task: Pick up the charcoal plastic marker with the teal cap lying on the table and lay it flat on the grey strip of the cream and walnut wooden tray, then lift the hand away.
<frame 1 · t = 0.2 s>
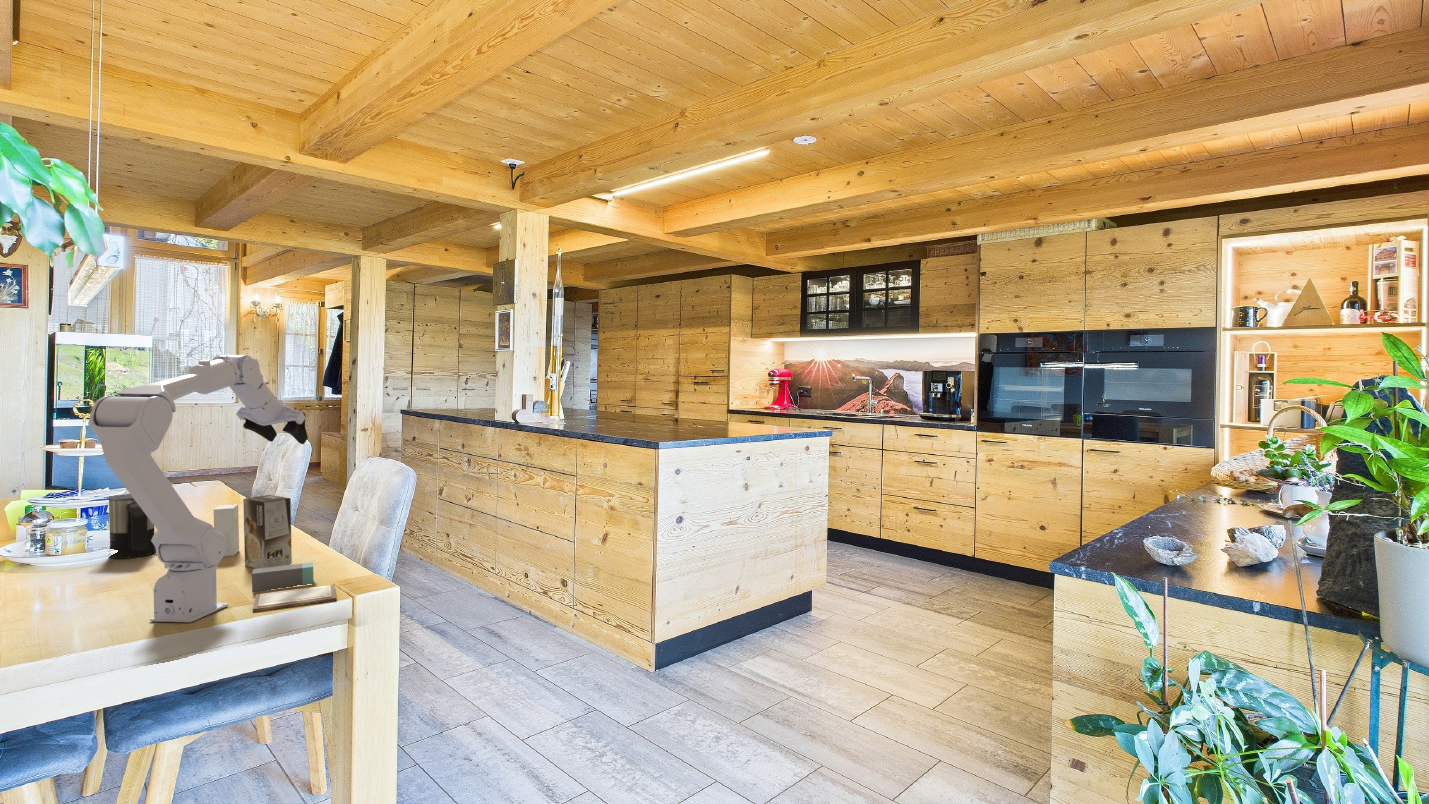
hand: (289, 439, 158), 30 cm above the table, tool tilted 45°, fingers open, 7 cm apart
coffee box: (268, 566, 164), on the table
skincare box: (226, 554, 174), on the table
wooden tray: (295, 599, 140), on the table
marker: (283, 586, 148), on the table
milk frother: (153, 553, 174), on the table
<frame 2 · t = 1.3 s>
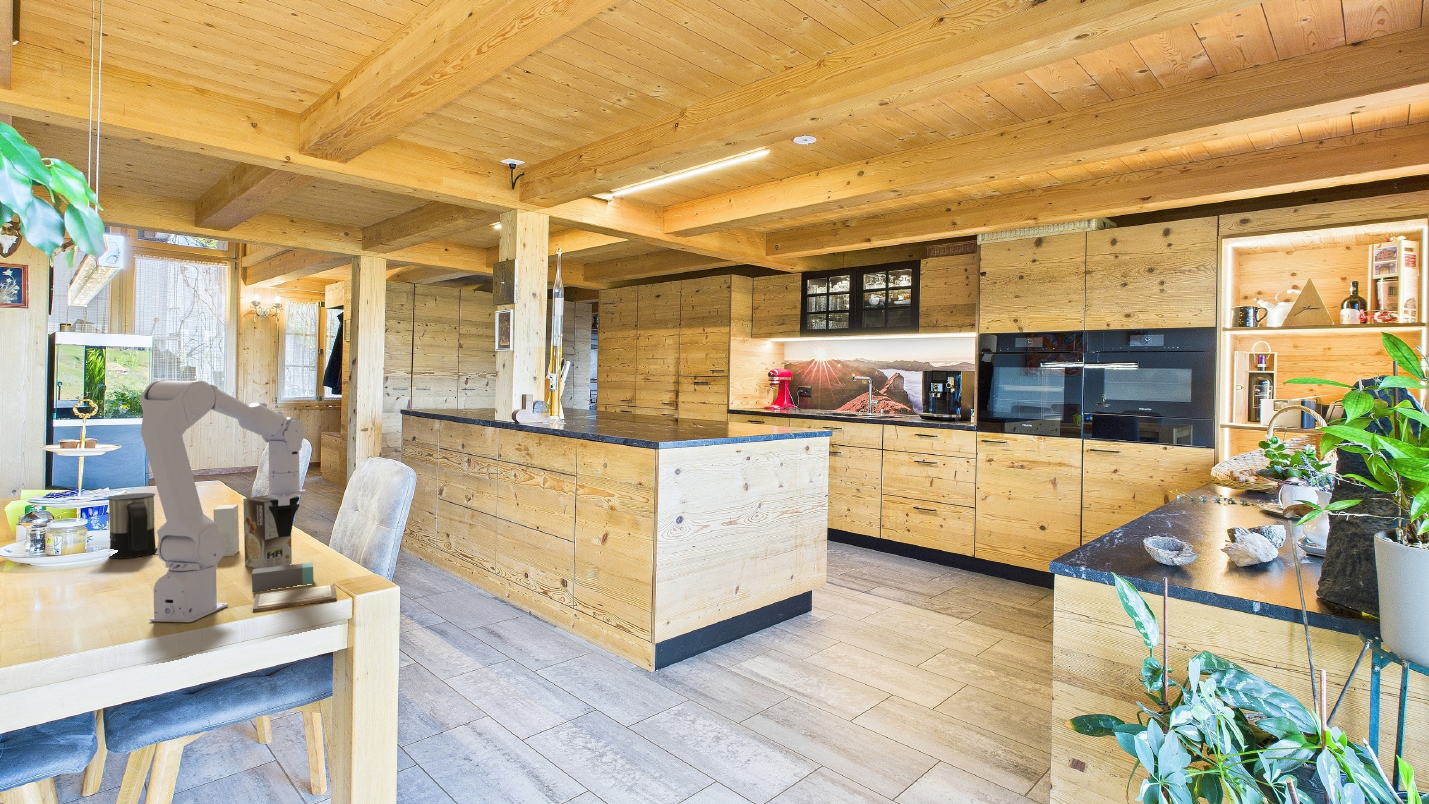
hand: (284, 533, 153), 10 cm above the table, tool pointing down, fingers open, 7 cm apart
nothing on the table moved.
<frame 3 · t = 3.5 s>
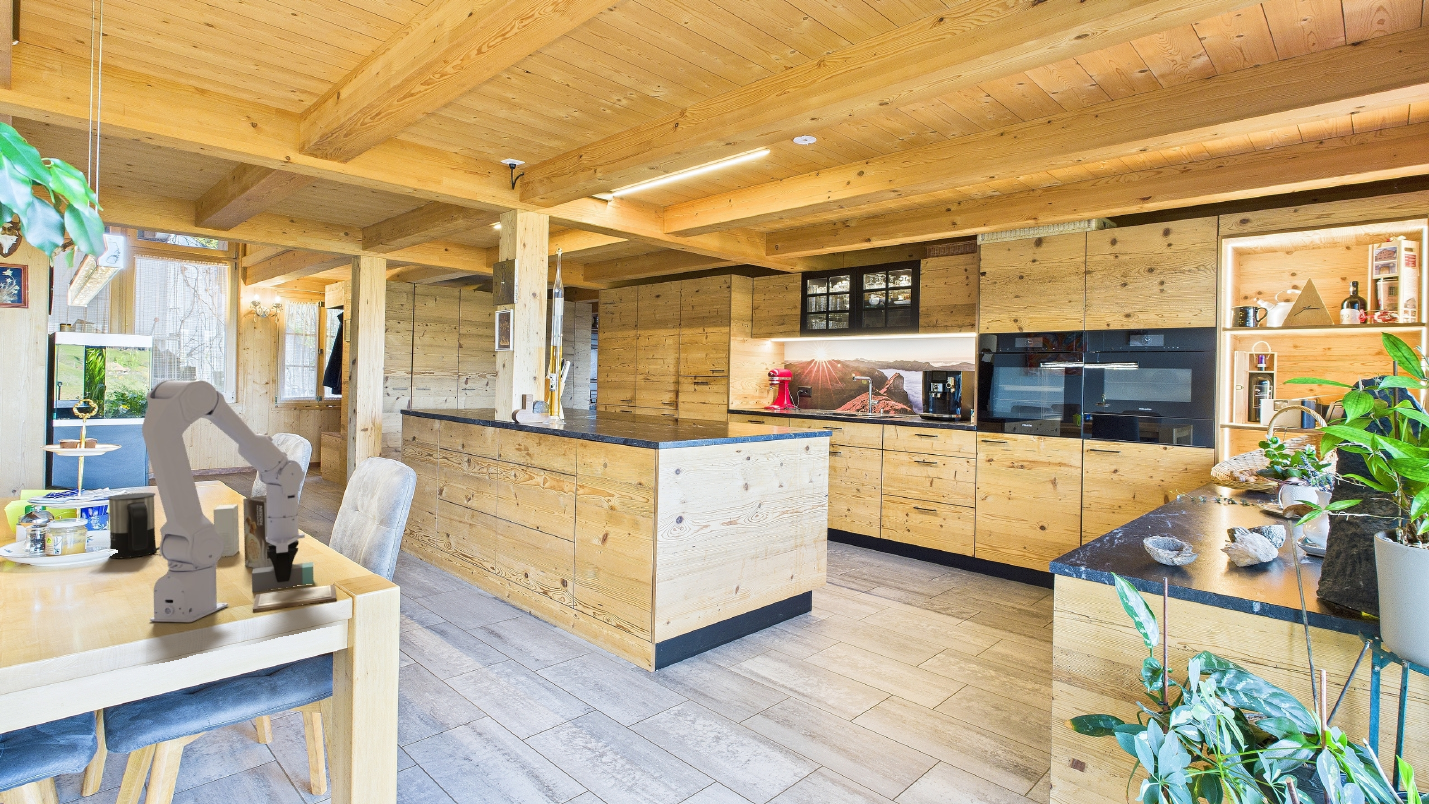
hand: (283, 578, 148), 2 cm above the table, tool pointing down, fingers closed on marker, 4 cm apart
marker: (283, 586, 148), on the table, touching gripper
everything else where it was.
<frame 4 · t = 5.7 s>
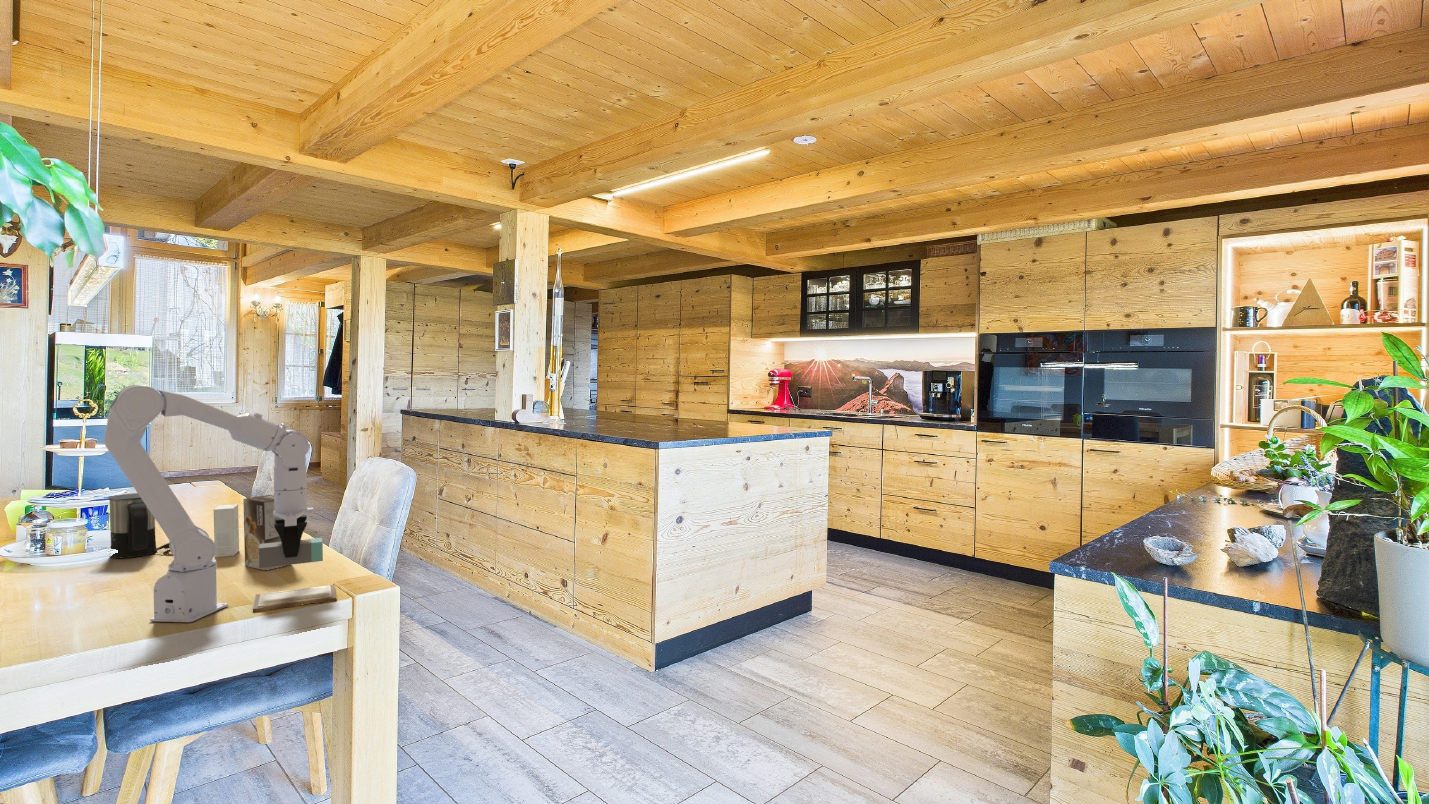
hand: (291, 554, 142), 8 cm above the table, tool pointing down, fingers closed on marker, 4 cm apart
marker: (291, 562, 142), point 7 cm above the table, touching gripper
everything else where it was.
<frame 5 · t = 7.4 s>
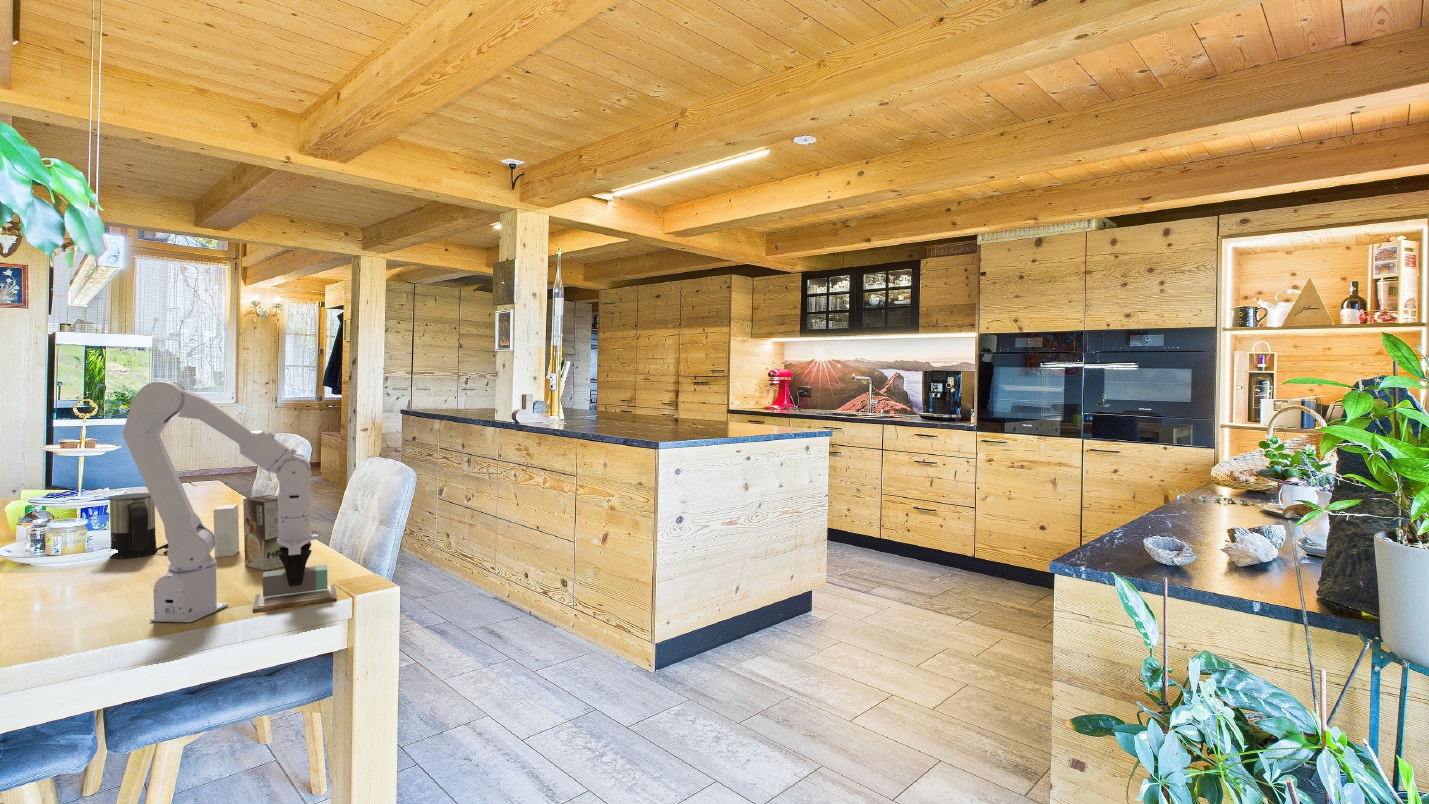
hand: (295, 582, 140), 3 cm above the table, tool pointing down, fingers closed on marker, 4 cm apart
marker: (296, 590, 140), point 2 cm above the table, touching gripper
everything else where it was.
when the fingers open (3 cm above the table, at t = 8.4 s): marker stays where it is, resting on wooden tray.
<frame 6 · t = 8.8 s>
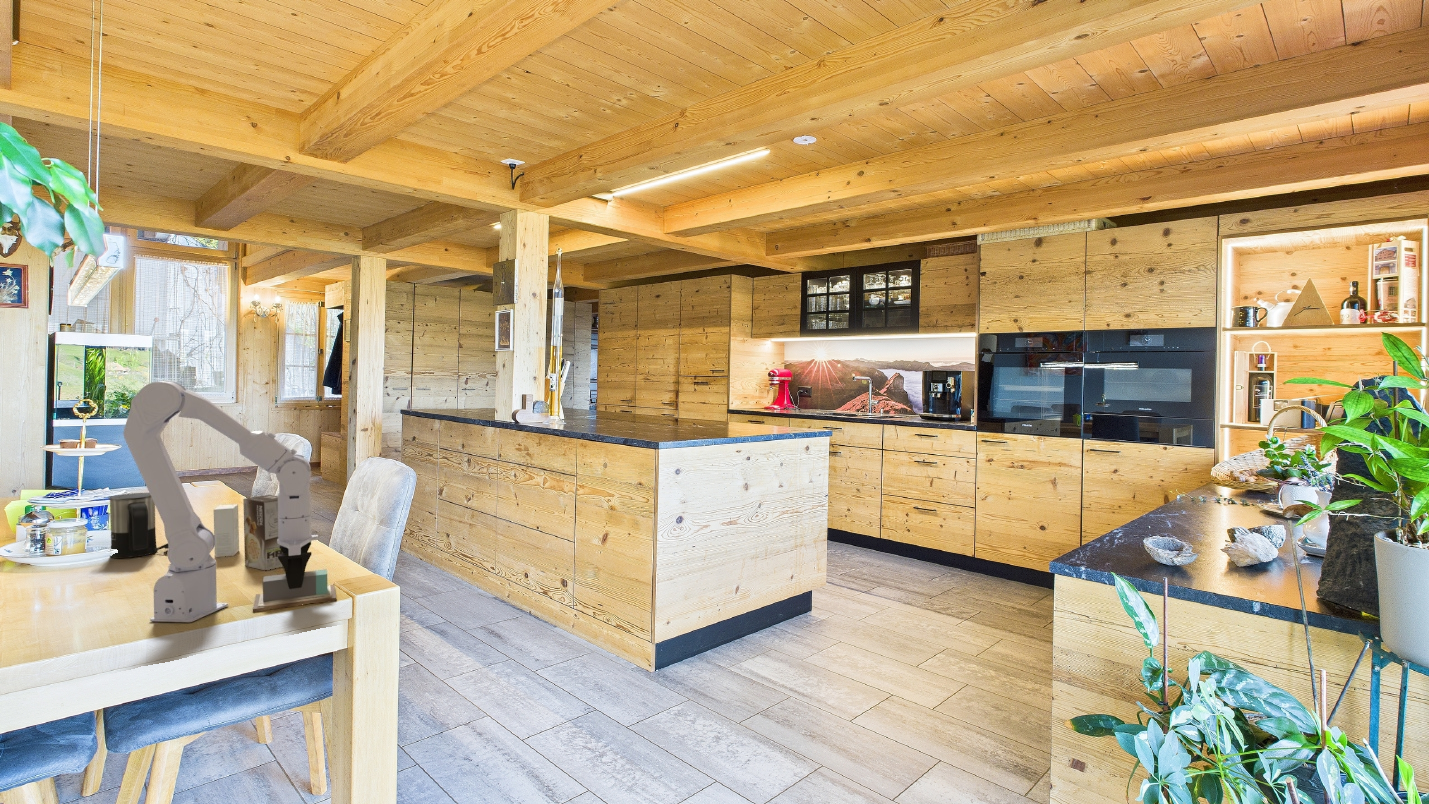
hand: (295, 582, 140), 3 cm above the table, tool pointing down, fingers open, 7 cm apart
marker: (296, 594, 140), point 1 cm above the table, touching wooden tray
everything else where it was.
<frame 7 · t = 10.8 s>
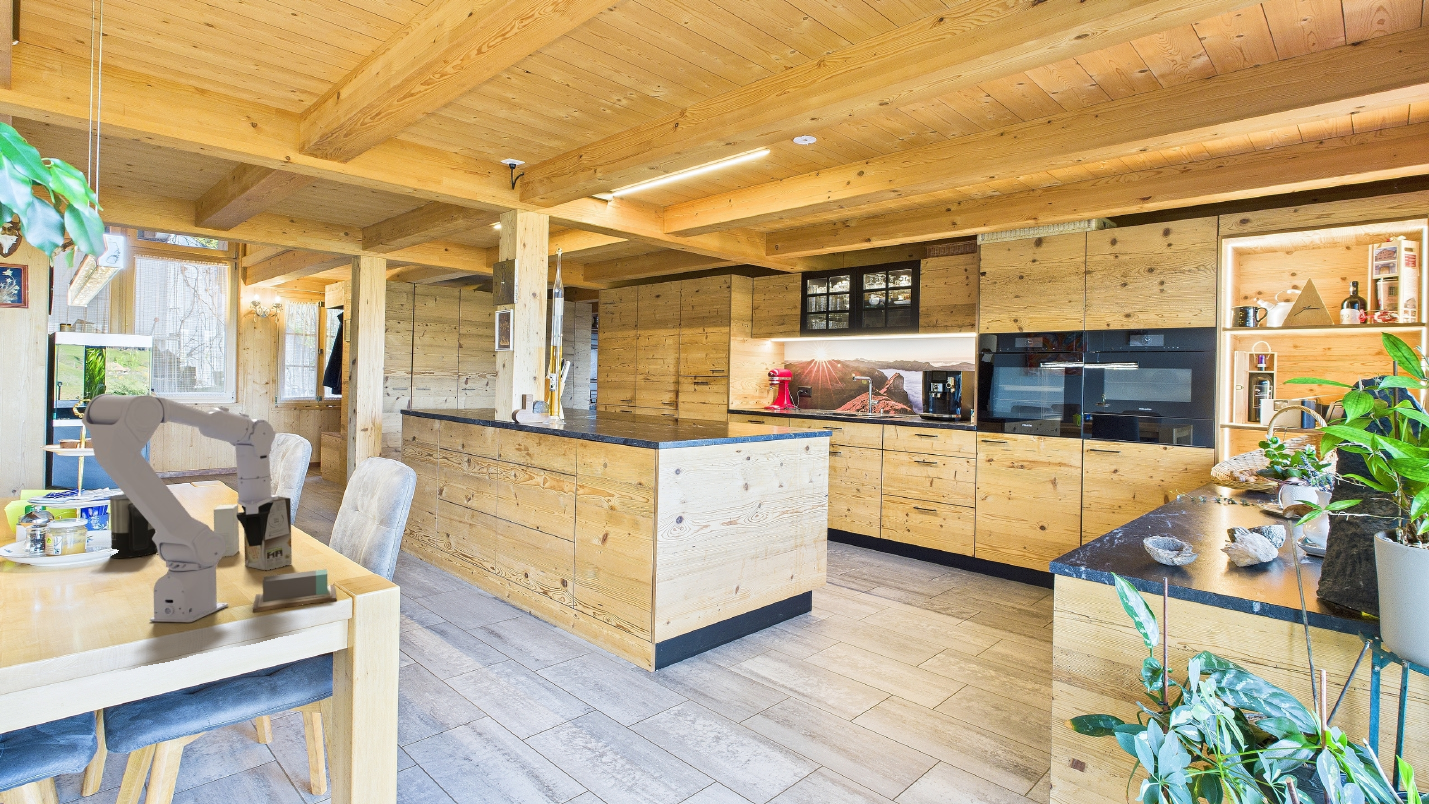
hand: (257, 540, 145), 10 cm above the table, tool pointing down, fingers open, 7 cm apart
nothing on the table moved.
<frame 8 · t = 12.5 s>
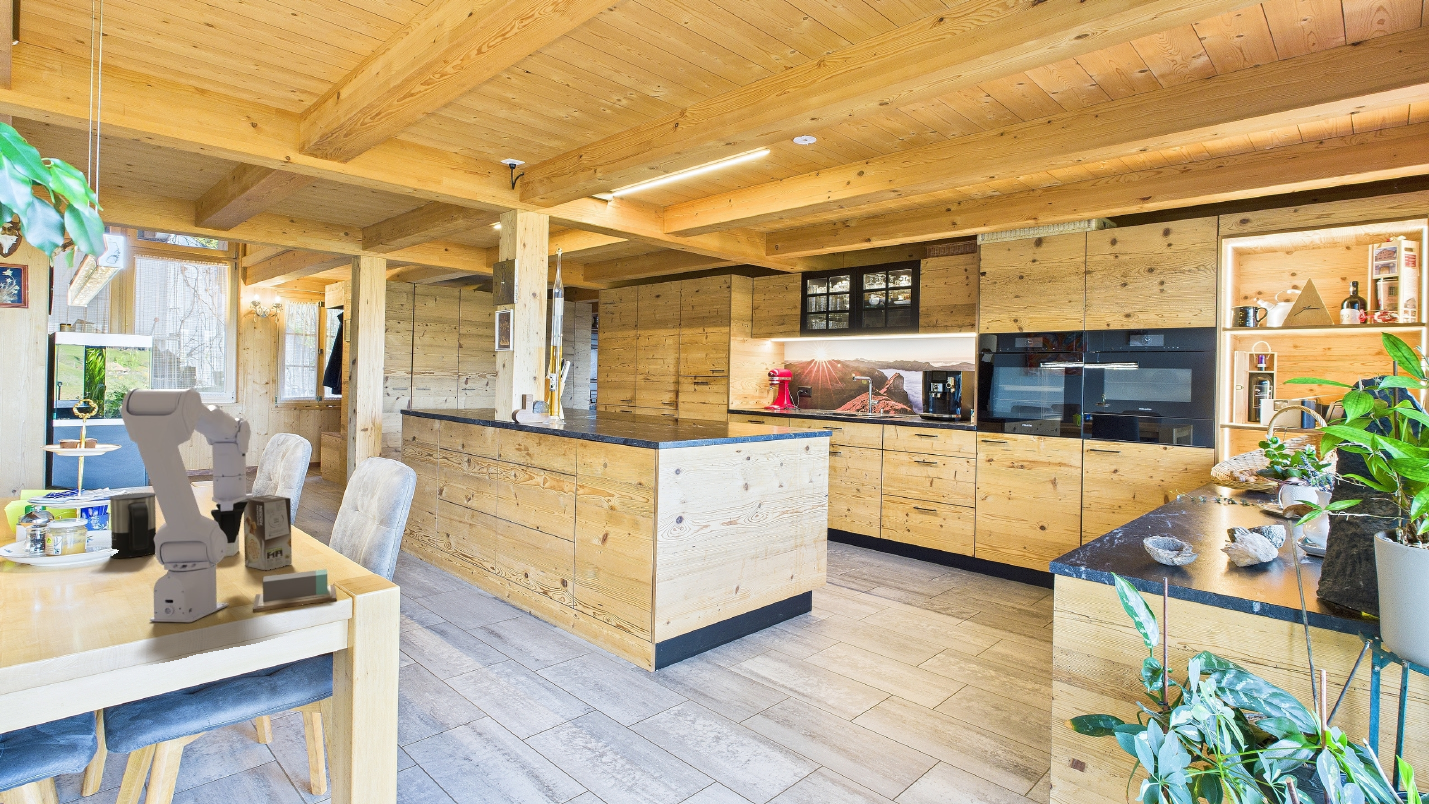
hand: (230, 539, 146), 10 cm above the table, tool pointing down, fingers open, 7 cm apart
nothing on the table moved.
at the end: marker inside the target area on the wooden tray (0.0 cm from its centre), point 0.8 cm above the wooden tray's base; marker tilted 0°; the gripper is holding nothing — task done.
